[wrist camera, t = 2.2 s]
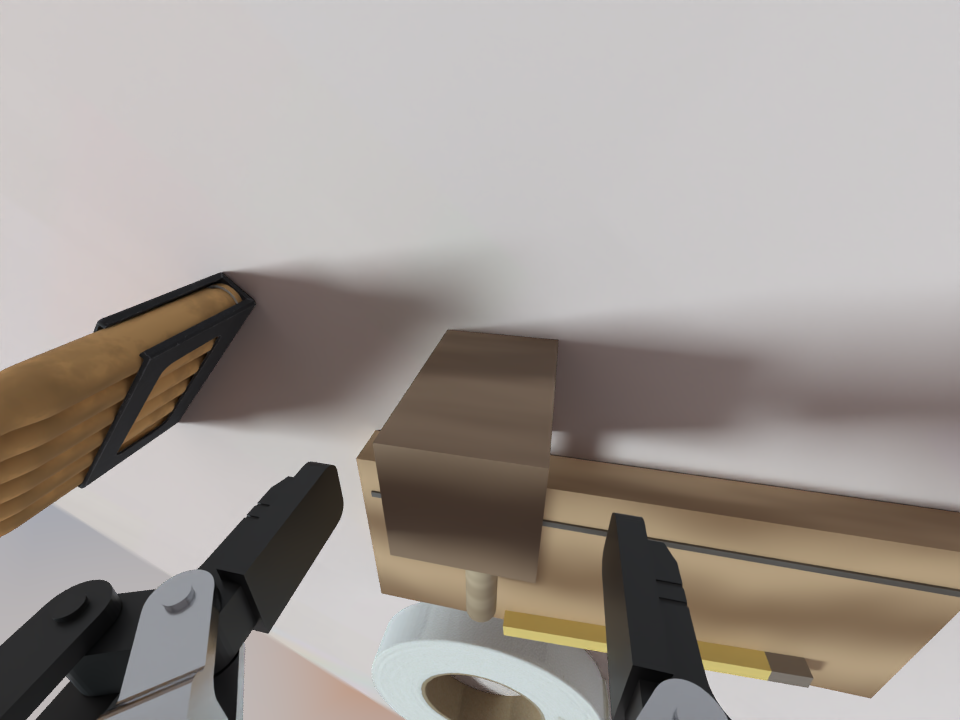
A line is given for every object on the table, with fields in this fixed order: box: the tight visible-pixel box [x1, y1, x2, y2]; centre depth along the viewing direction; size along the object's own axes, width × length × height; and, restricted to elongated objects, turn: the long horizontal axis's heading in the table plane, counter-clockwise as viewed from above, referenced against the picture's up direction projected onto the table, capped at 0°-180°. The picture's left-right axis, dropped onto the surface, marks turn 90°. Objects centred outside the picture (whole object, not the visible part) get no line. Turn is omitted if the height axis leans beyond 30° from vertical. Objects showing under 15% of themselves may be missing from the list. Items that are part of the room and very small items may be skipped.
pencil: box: [503, 610, 814, 688], centre depth 19 cm, size 1×14×1 cm, turn 95°
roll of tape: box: [372, 602, 610, 720], centre depth 27 cm, size 16×15×3 cm
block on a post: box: [373, 330, 558, 622], centre depth 16 cm, size 12×4×7 cm, turn 179°
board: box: [356, 430, 960, 698], centre depth 19 cm, size 10×24×2 cm, turn 90°
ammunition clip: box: [0, 273, 256, 537], centre depth 14 cm, size 11×2×12 cm, turn 136°
